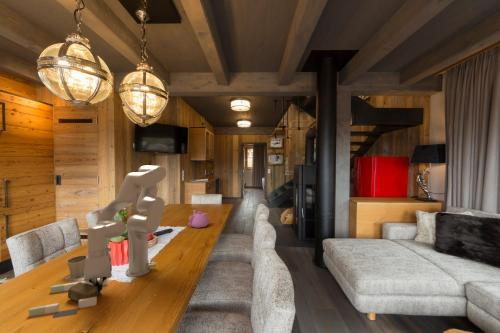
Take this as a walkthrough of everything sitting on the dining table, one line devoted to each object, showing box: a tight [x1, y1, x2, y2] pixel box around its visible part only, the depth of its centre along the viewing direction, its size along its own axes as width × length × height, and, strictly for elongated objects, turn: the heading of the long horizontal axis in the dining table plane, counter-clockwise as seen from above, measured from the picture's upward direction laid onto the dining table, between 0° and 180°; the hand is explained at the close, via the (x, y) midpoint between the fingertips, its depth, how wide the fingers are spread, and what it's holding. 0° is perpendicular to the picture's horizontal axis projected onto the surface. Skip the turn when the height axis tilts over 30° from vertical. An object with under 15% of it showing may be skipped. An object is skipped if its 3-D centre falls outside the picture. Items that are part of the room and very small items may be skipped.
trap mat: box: [52, 307, 81, 319], centre depth 88 cm, size 8×4×1 cm, turn 110°
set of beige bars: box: [28, 278, 108, 318], centre depth 98 cm, size 22×18×3 cm
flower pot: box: [65, 254, 88, 278], centre depth 118 cm, size 9×9×9 cm
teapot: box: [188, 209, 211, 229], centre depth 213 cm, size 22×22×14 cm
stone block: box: [67, 281, 99, 303], centre depth 97 cm, size 6×12×5 cm, turn 75°
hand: (98, 291), depth 101 cm, fingers closed
